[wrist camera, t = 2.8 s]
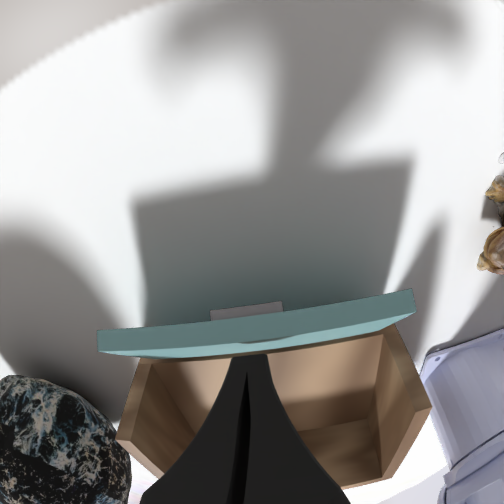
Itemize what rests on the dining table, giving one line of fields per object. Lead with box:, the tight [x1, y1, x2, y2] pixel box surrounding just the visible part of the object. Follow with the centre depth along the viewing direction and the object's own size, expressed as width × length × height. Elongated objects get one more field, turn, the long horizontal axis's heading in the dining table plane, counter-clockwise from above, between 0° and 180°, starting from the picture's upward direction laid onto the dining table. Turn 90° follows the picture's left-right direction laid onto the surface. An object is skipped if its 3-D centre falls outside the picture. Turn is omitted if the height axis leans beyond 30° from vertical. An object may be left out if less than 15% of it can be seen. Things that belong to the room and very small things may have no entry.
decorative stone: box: [0, 375, 132, 504], centre depth 17 cm, size 16×16×15 cm
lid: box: [97, 289, 417, 359], centre depth 15 cm, size 14×2×6 cm
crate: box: [115, 323, 432, 490], centre depth 19 cm, size 17×12×7 cm
